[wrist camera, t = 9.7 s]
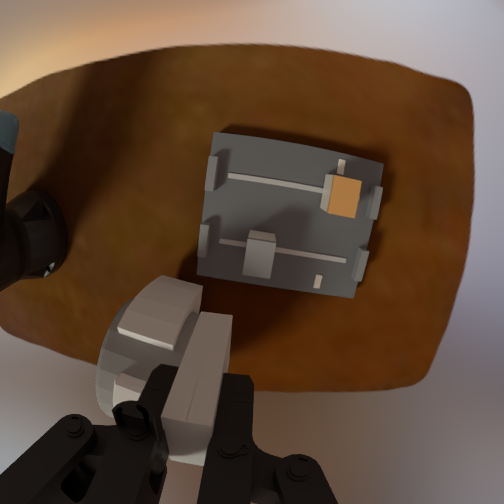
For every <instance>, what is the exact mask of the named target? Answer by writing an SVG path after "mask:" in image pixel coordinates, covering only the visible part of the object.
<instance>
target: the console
mask: <svg viewBox="0 0 504 504" xmlns="http://www.w3.org/2000/svg"><path fill="white" fill-rule="evenodd" d="M383 166H384V164H382V163H379V162H375V161H372V160H368V159H364V158H360V157H356V156H352V155H348V154H344V153H340V152H335V151H331V150H326V149H322V148H317V147H312V146H307V145H302V144H296V143H291V142H285V141H279V140H273V139H266V138H259V137H252V136H244V135H236V134H227V133H218V132H214V133H213V140H212V146H211V153H210V156H209V160H208V167H207V175H206V182H205V198H204V206H203V215H202V223H201V224H200V234H199V244H198V254H197V257H198V264H197V275H201V276H207V277H213V278H218V279H224V280H231V281H237V282H243V283H249V284H256V285H262V286H269V287H275V288H282V289H289V290H296V291H303V292H310V293H317V294H325V295H332V296H340V297H348V298H354V294H355V291H356V287H357V284H358V281H359V282H361V281H362V277H363V274H364V270H365V267H366V263H367V259H368V255H369V251H368V250H367V246H368V242H369V238H370V233H371V229H372V224H373V220H374V219H375V220H377V217H378V212H379V207H380V202H381V197H382V191H383V187H380V184H381V178H382V172H383ZM326 174H327V175H337V176H342V177H346V178H350V179H355V180H359V181H362V183H361V189H360V194H359V200H358V205H357V210H356V215H355V218H350V217H345V216H340V215H335V214H329V213H327V212H325V211H324V210H323V209H321V208H320V205H321V199H322V194H323V188H324V182H325V176H326ZM250 230H254V231H261V232H267V233H273V234H275V237H276V248H275V254H274V259H273V265H272V270H271V276H270V279H267V278H260V277H254V276H248V275H242V273H243V266H244V259H245V253H246V246H247V239H248V235H249V232H250Z"/></svg>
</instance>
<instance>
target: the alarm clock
mask: <svg viewBox="0 0 504 504" xmlns="http://www.w3.org/2000/svg"><path fill="white" fill-rule="evenodd" d="M202 290H203V286H201V285H198V284H194V283H190V282H186V281H182V280H178V279H175V278H171V277H167V276H164V275H162V276H160V277H158V278H157V279H155V280H154V281H152V282H151V283H150V284H149V285H147V286H146V287H145V288H144V289H143V290H142V291H141V292H140V293H139V294H138V295H137V296H136V297H135V298H132V299H130V300H129V301H128V302H126V303H125V304H124V305H123V306H122V308H121V309H120V310H119V311H118V313H117V314H116V316H115V317H114V319H113V321H112V323H111V325H110V327H109V329H108V331H107V333H106V336H105V339H104V342H103V344H102V347H101V351H100V355H99V360H98V364H97V372H96V395H97V400H98V403H99V406H100V408H101V409H102V410H103V411H104V412H105V413H106V414H107V415H108V416H111V417H113V418H114V416H113V413H112V409H113V408H114V407H115V405H117V404H119V403H121V402H123V401H129V400H133V401H138V399H139V397H140V395H141V392H142V390H143V389H144V386H145V384H146V382H147V381H148V378H149V376H150V374H151V372H152V370H153V369H155V368H156V367H157V366H159V365H160V364H166V365H171V366H177V367H180V364H181V361H182V359H183V356H184V354H185V351H186V349H187V346H188V343H189V341H190V338H191V336H192V333H193V331H194V328H195V326H196V323H197V321H198V318H199V316H200V314H199V311H200V305H201V299H202Z"/></svg>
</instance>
